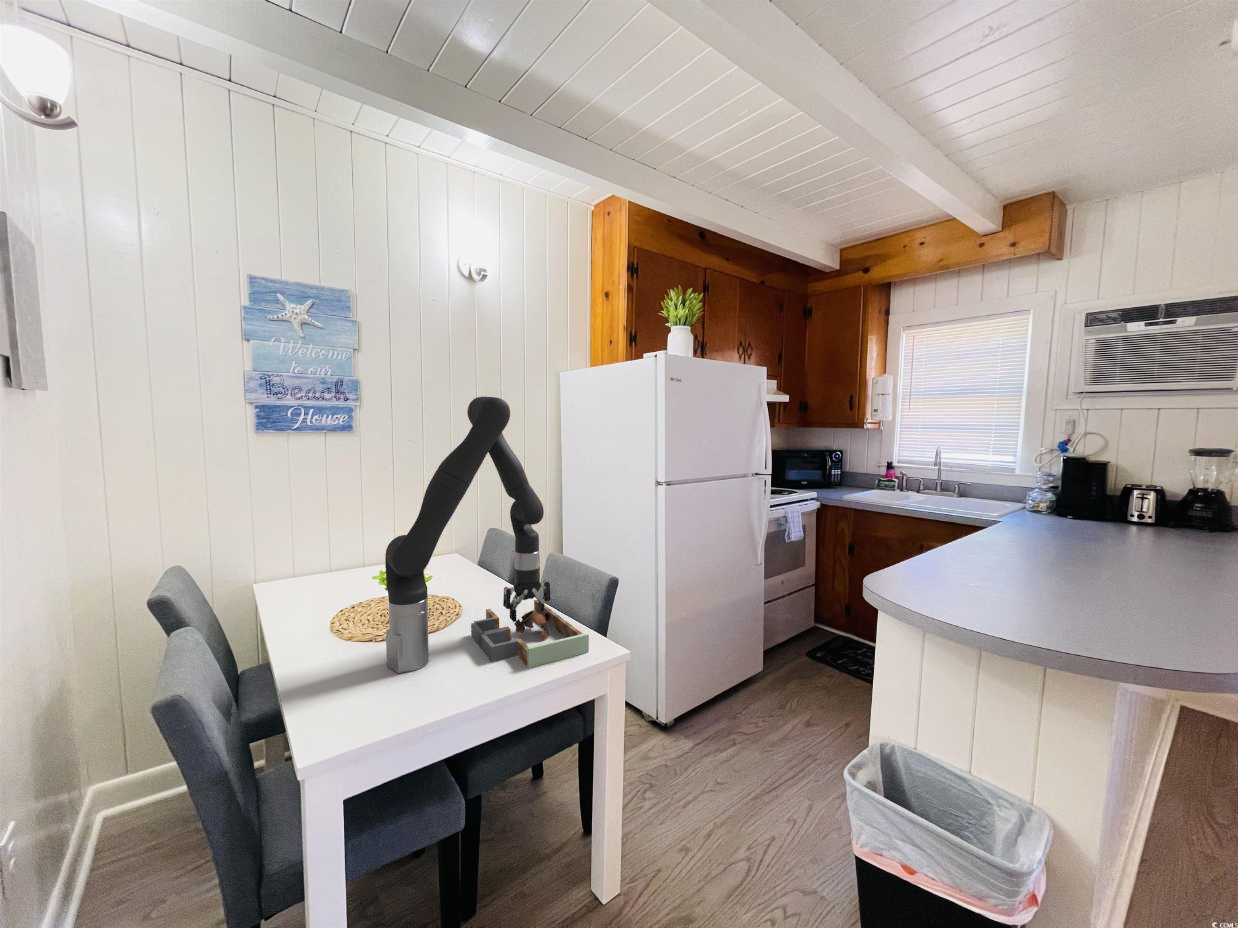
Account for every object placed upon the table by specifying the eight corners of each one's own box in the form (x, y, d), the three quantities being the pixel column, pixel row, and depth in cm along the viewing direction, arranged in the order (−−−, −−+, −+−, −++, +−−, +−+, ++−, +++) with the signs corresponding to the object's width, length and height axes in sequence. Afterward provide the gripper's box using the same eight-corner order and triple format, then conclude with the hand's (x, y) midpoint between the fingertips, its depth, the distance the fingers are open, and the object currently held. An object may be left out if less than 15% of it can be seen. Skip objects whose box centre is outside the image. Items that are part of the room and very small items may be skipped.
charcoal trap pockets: (517, 655, 136) (517, 641, 136) (491, 661, 133) (491, 647, 132) (493, 630, 153) (493, 617, 152) (470, 635, 149) (469, 622, 149)
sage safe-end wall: (588, 652, 139) (588, 634, 139) (529, 667, 130) (529, 648, 129) (586, 650, 140) (586, 632, 140) (527, 665, 131) (527, 647, 130)
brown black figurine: (539, 646, 143) (525, 622, 143) (519, 652, 148) (505, 628, 148) (564, 622, 153) (550, 599, 152) (544, 628, 158) (530, 606, 158)
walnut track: (586, 650, 140) (586, 636, 140) (527, 665, 131) (527, 650, 130) (537, 611, 168) (537, 599, 168) (486, 621, 159) (485, 609, 159)
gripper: (509, 572, 145) (509, 627, 146) (554, 565, 152) (554, 617, 154) (499, 565, 151) (500, 618, 152) (543, 559, 159) (543, 609, 160)
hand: (527, 617), depth 153 cm, fingers open, 8 cm apart
